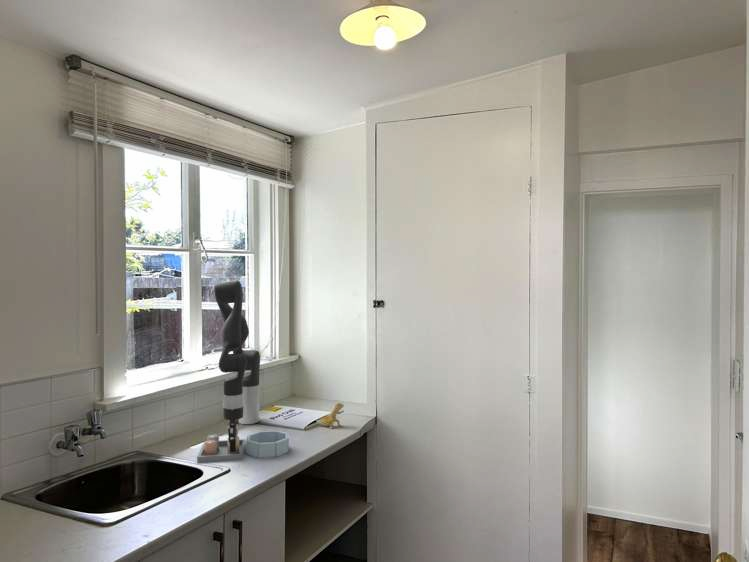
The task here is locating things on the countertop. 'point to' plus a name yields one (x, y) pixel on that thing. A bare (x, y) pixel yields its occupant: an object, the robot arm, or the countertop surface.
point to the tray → (222, 453)
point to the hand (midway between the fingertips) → (233, 449)
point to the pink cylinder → (214, 437)
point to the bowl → (267, 444)
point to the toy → (331, 417)
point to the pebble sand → (236, 446)
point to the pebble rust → (210, 447)
